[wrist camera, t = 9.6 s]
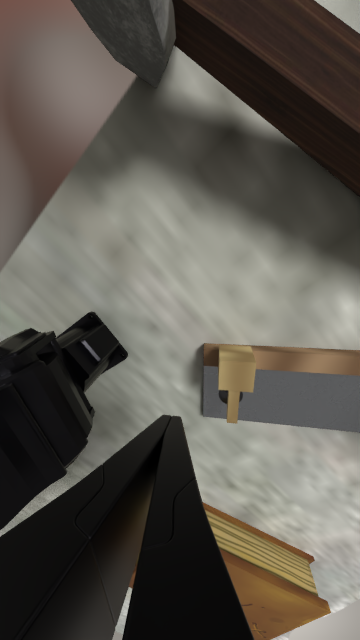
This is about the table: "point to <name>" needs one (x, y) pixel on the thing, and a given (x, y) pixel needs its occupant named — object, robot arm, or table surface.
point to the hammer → (253, 62)
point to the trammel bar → (271, 365)
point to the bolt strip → (291, 399)
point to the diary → (265, 577)
